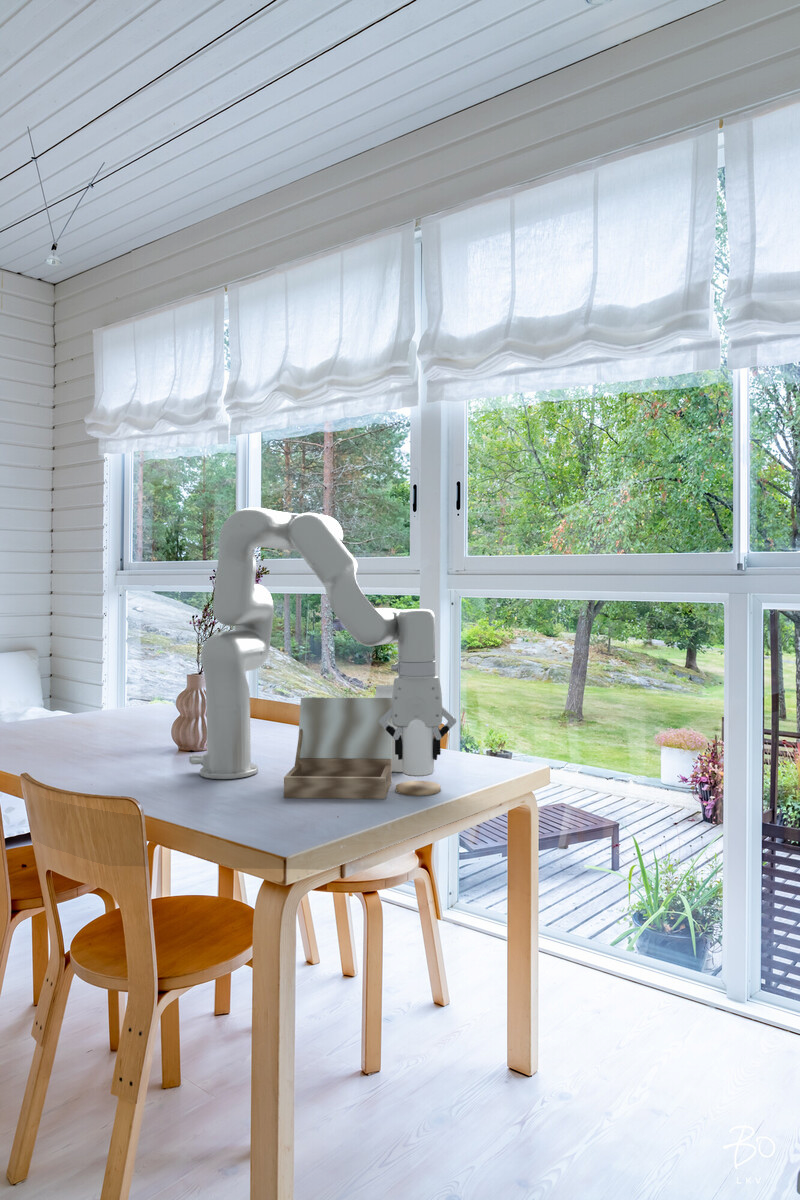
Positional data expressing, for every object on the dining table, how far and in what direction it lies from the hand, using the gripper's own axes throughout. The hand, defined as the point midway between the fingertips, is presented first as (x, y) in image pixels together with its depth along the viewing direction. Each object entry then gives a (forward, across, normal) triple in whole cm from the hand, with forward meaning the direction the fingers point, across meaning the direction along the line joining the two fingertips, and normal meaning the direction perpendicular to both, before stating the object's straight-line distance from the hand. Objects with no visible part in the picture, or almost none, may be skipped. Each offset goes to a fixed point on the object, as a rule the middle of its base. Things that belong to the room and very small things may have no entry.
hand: (417, 757), depth 161 cm
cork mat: (+7, 0, 0) cm, 7 cm away
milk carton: (+7, -7, +19) cm, 21 cm away
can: (+3, 0, 0) cm, 3 cm away
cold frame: (+7, -16, +2) cm, 17 cm away
